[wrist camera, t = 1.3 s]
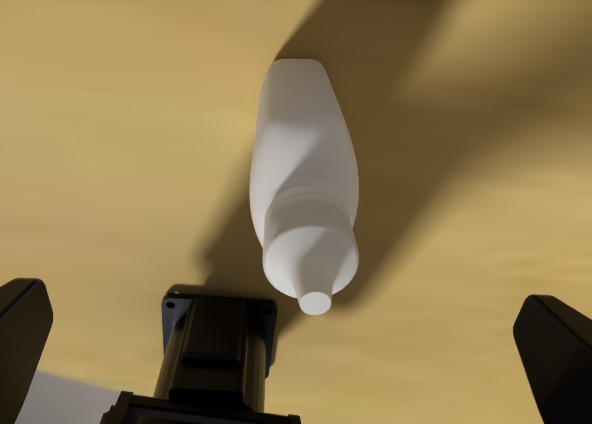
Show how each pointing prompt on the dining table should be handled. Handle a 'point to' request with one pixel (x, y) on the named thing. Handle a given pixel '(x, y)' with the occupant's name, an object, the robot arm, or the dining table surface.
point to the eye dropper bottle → (304, 185)
